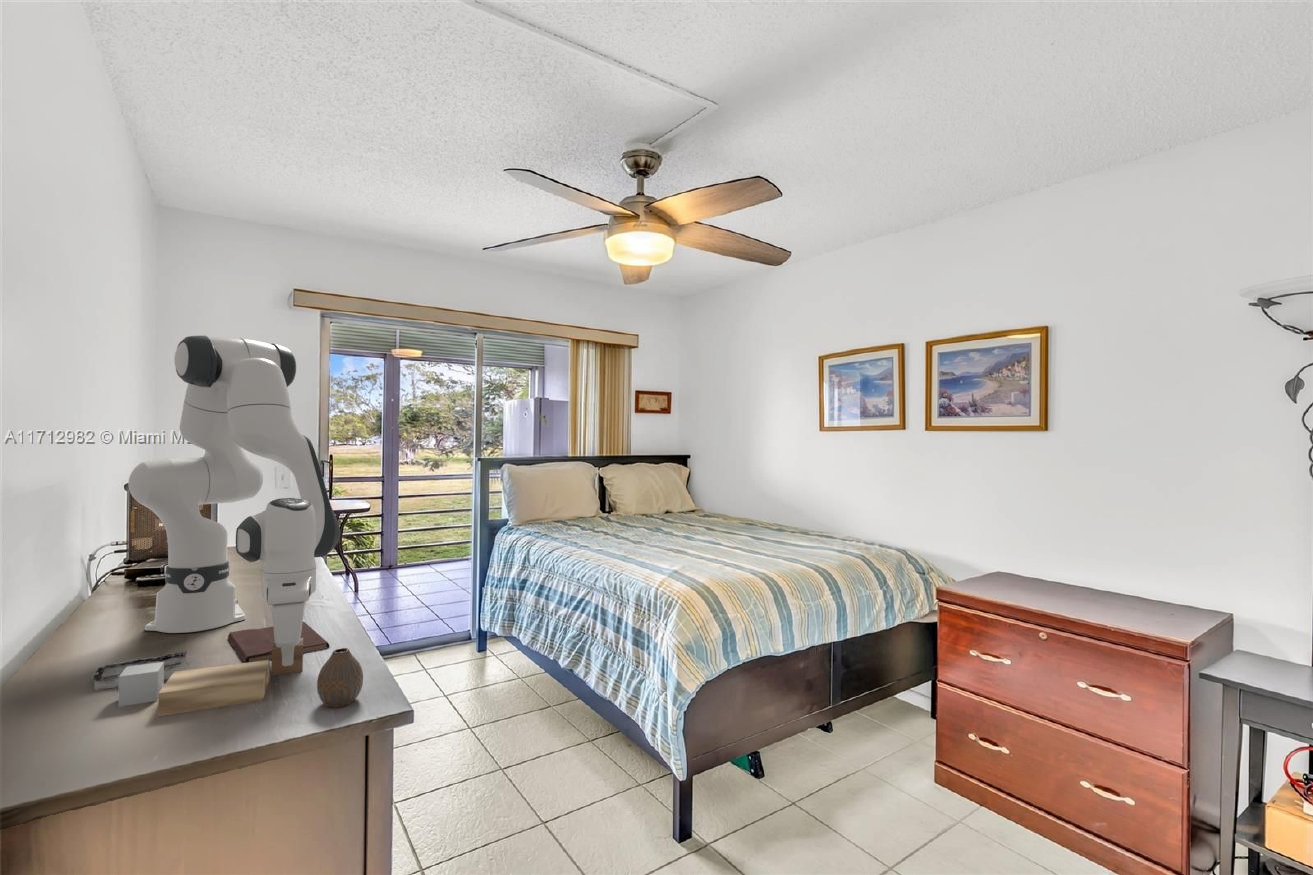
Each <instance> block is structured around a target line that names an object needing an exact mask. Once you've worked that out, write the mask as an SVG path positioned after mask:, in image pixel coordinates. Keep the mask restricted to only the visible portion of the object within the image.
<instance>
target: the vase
mask: <svg viewBox="0 0 1313 875" xmlns="http://www.w3.org/2000/svg"><path fill="white" fill-rule="evenodd" d="M363 672H364V670H363V669H362V665H361V663H360V662H359V661H358V659H356V657H355V656H354V655H353V654H352V653H351V651H350V649H349V648H348V647H338V648H336V649H334V650H333V651H332V652H331V655H330V656H329V658H328V659H327V660H326V662H325V663H324V664H323V666H322V667H321V669H320V671H319V673H318V676H317V680H316V690H317V694H318V698H319V700H320V701H321V703H323V704H324V705H325V706H327V707H328V708H329V707H330V708H341V707H346V706H348V705H351V704H352V703H353V702H354V701H355V700H356V699H357V698H358V696H359V695H360V693H361V692H362V691H361V690H362V689H363V688H362V687H363V684H364V673H363Z"/></svg>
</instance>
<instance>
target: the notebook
mask: <svg viewBox="0 0 1313 875" xmlns="http://www.w3.org/2000/svg"><path fill="white" fill-rule="evenodd" d="M227 638H228V640H229V642H230V644H231V645H232V647H233V648H234V649H235V652H236V653H238V655H239V656H240V658H241V659H242V661H243V663H248V662H256V661H264V660H272V646H273V641H275V638H274V629H273V626H267V627H263V628H251V629H250V628H249V629H248V628H247V629H241V630H235V631H229V633H228V635H227ZM300 638H303V654H304V653H309V652H313V651H314V652H315V651H318V650H323V649H329V648H330V643H329V642H328V641H327V640H325V639H324V637H322V636H321V635H320V634H319V633H318V632H317V631H315V630H314V629H313V628H312V627H311V626H310V625H308V624H307V622H305V621H303V623H302V631H301V637H300Z"/></svg>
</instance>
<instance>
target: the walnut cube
mask: <svg viewBox="0 0 1313 875" xmlns="http://www.w3.org/2000/svg"><path fill="white" fill-rule="evenodd" d="M303 662H304V653H303V638H300V641H299V644H298V645H295V647H294V657H293V664H292V665H290V666H283V665H282V653H281V647H277V646H276V644H275V641H273V646H272V659H271V676H272V677H273V676H280V675H281V676H282V675H287V674H293V673H300V672H303V671H304V670H303V668H304V667H303V666H304V663H303Z"/></svg>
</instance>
